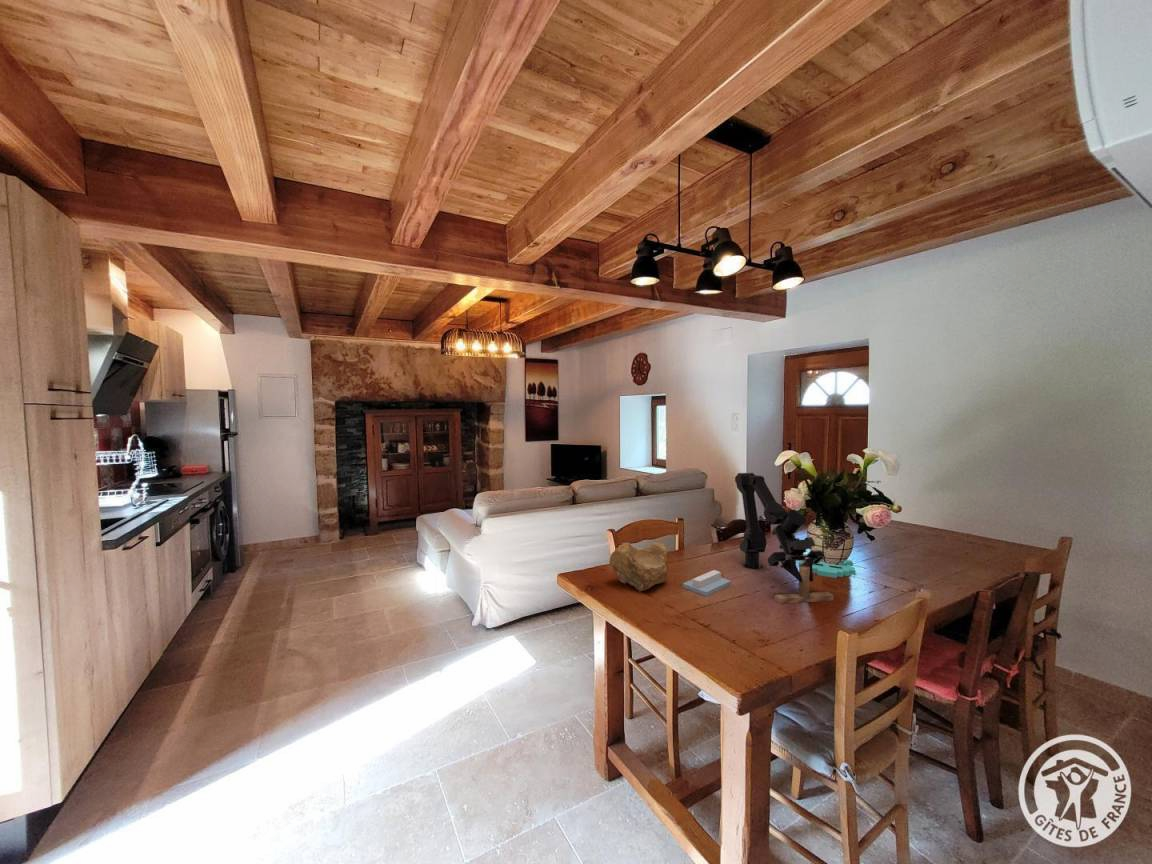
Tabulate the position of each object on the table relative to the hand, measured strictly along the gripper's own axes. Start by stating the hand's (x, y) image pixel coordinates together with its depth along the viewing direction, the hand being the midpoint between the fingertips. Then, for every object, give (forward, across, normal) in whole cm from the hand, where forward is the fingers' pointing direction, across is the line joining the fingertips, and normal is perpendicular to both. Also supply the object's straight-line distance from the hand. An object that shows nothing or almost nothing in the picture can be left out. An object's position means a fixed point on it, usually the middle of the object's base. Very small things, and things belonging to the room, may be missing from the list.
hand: (806, 581), depth 146 cm
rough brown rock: (-10, -51, +20) cm, 56 cm away
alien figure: (-14, +29, +25) cm, 41 cm away
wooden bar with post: (+4, 0, +6) cm, 7 cm away
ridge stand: (-7, -28, +17) cm, 33 cm away
